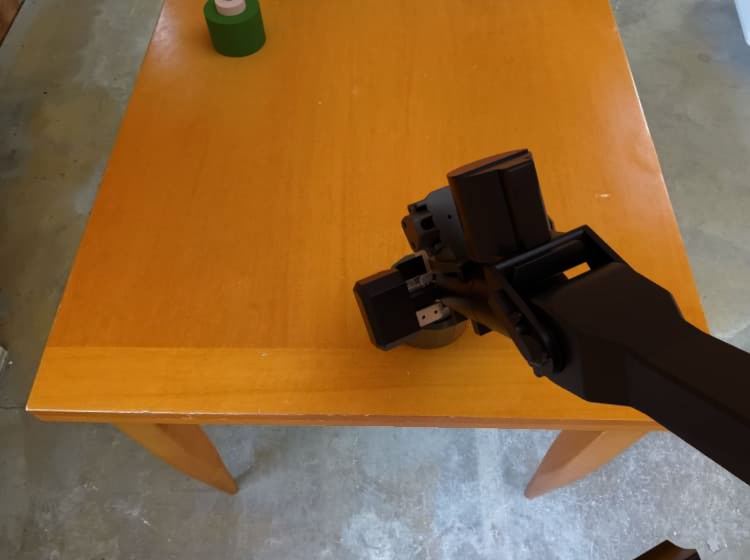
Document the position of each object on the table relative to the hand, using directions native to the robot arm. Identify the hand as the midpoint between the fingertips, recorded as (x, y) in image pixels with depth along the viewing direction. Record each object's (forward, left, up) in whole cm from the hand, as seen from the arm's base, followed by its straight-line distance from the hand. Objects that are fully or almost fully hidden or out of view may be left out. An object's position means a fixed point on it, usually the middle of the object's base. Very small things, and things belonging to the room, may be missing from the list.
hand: (425, 265), depth 58 cm
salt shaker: (-1, 0, -7) cm, 7 cm away
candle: (+53, -11, -7) cm, 54 cm away
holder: (-1, 0, -7) cm, 7 cm away
